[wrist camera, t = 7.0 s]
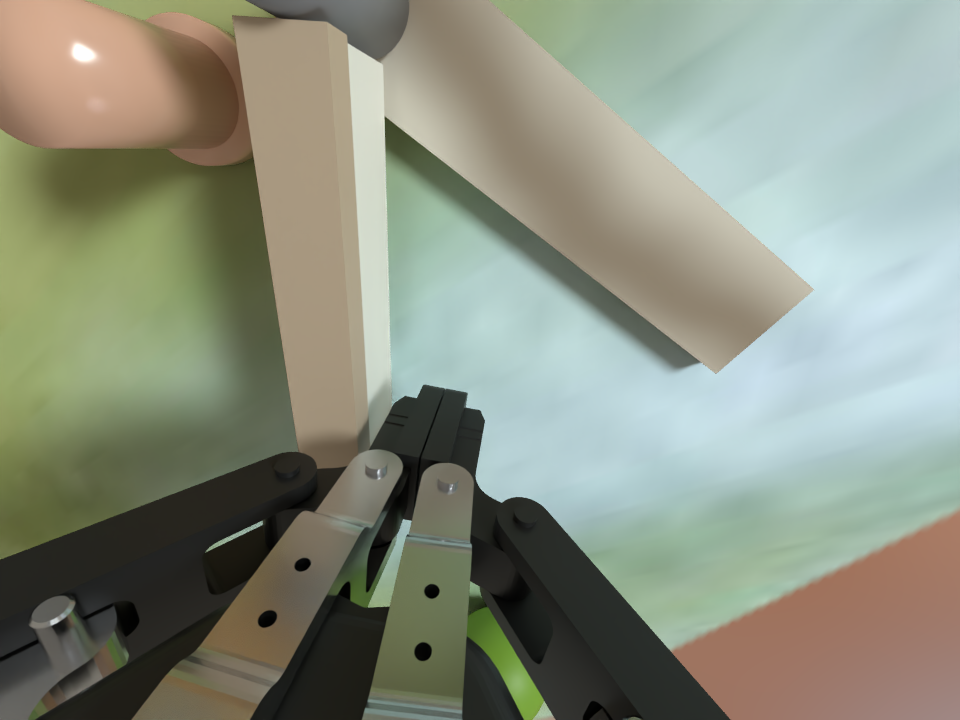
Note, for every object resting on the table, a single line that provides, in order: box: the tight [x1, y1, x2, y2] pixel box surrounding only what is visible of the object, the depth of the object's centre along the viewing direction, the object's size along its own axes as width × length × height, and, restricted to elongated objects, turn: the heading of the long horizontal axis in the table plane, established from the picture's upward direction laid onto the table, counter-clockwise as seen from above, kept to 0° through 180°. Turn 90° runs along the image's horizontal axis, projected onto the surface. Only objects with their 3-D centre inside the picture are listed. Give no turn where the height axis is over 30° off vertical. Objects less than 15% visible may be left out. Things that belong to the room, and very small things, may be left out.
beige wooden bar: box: [232, 0, 409, 469], centre depth 12 cm, size 16×3×5 cm, turn 176°
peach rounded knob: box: [0, 0, 254, 166], centre depth 11 cm, size 4×4×6 cm
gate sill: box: [276, 0, 814, 373], centre depth 13 cm, size 4×18×1 cm, turn 54°
